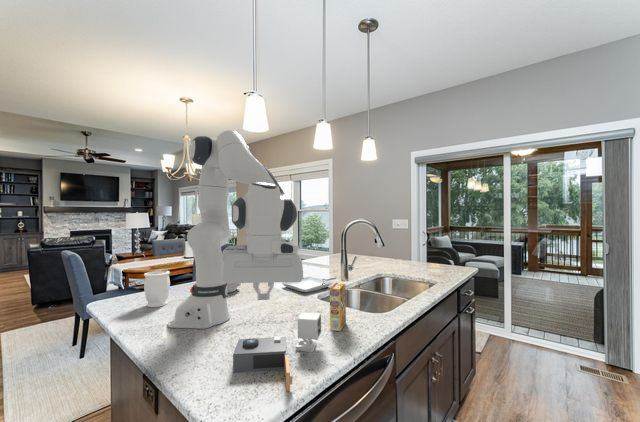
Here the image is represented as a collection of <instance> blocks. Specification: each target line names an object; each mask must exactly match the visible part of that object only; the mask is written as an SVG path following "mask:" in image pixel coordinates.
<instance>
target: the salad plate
mask: <svg viewBox="0 0 640 422" xmlns="http://www.w3.org/2000/svg"><path fill="white" fill-rule="evenodd" d="M323 280H324V283H325V284H323V285H322V283H323ZM333 283H334V282H333V281H330V280H325V279H321V278H318V277H317V278H316V277H312V276H305V277H303V279H302V281H301V282H281V284H282V285H283V286H284V287H285V288H288V289H291V290H295V291H298V292H302V293H305V294H306V293H310V292H311V293H312V292H315V291H319V290H322V288H323V289H326V288H329V287H330V286H332V285H333Z"/></svg>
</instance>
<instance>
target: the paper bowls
mask: <svg viewBox="0 0 640 422" xmlns="http://www.w3.org/2000/svg"><path fill="white" fill-rule="evenodd" d="M241 284H242V283H227V294H229V293H233V292H235V291H236V290H237V289H238V288H239V286H241Z"/></svg>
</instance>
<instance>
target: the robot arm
mask: <svg viewBox="0 0 640 422" xmlns="http://www.w3.org/2000/svg"><path fill="white" fill-rule="evenodd" d="M189 155H190V159H191V161H192V162H193V164H196V165H198V166H201V170H200V174H199V181H198V194H197V195H198V196H197V207H198V209H199V212H200V216H201V222H200V223H197V224H196V225H193V226H192V227H191V228H190V229H189V231H188V232H187V235H186V241H187V244H188V246H189V247H190V248H191V250H192V254H193V255H192V256H193V259H194V262H195V264H194V265H195V277H196V278H195V283H194V284H192V287H190V289H189V290H190V291H189V293H190V295H189V296H187V298H185V299H184V300H182V301H181V302H180V304H178V306H177V307H176V309H175V313H174V316H172V317H171V318H170V319H169V320H168V322H167V327H168V328H171V329H172V328H174V329H204V330H205V329H209V328H211V327H213V326H217V325H220V324H223V323H225V322H227V321H228V320H229V319H230V318H231V315H230V311H229V307H228V306H229V305H228V298H227V297H228V293H227V283H241V284H248V283H249V284H253V285H252V287H253V289H254V291H255V292H256V294H257V301H270V295H271V292H272V290H273V288H274V285H275V283H283V282H301V281H302V279H303V278H304V267H303V261H302V258H301V255H300V254H299V248H300V247H299V244H298V243H297V242H295V241H292V240H288V239H286V238H285V239H284V238H282V232H287V231H288V230H290V229H291V227H292V226H293V225H295V223H296V221H297V218H298V211H297V210H298V209H297V207H296V205H295V203H294V201H293V200H292V199H291V198H290V197H289V196H288V195H287V194H286V193H285V192H284V190H283V189H282V187H281V185H280V184H279V183H278V181H277V179H276V178H275V176H274V175H273V173H272V172H271V171H270V170H269V169H268V168H267V166H265V165H264V164H262V162H260V161H259V160H258V159H256V157H255V156H254V155H253V154H252V150H251V148H250V146H249V145H248V144H247V142H246V141H245V139H244V138H243V136H242V135H241V134H240V133H238V132H237V131H236V130H229V129H228V130H224V131H222V132H221V133H219V134H218V136H217V137H209V136H207V135H201V136H199V135H198V136H196V137H194V138H193V139H192V142H191V143H190V146H189ZM229 180H231V181H235V182H238V183H243V184H247V185H248V189H247V190H248V191H247V193H246V194H244V196H239V197H238V198H237V199H236V200H235V201H234V202H233V203H232V205H231V223H232V224H233V225H234V226H235V227H236V228H237V229H239V230H242V231H246V240H245V241H246V245H245V244H244V245H228V246H226V247H225V248H224V249H223V250H222V247H223V246H225V244H226V243H228V241H229V240H230V238H231V234H232V232H231V229H230V221H229V220H230V219H229V214H228V200H229V197H228V196H229ZM260 283H267V286H268V289H267V291H261V289H260V287H259V286H260Z"/></svg>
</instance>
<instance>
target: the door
mask: <svg viewBox="0 0 640 422" xmlns="http://www.w3.org/2000/svg"><path fill="white" fill-rule="evenodd" d="M284 373H285V385H286V386H285V387H286V392H290V391H291V385H293V373H291V371H290V359H289V352H287V351H286V353H285V369H284Z"/></svg>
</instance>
